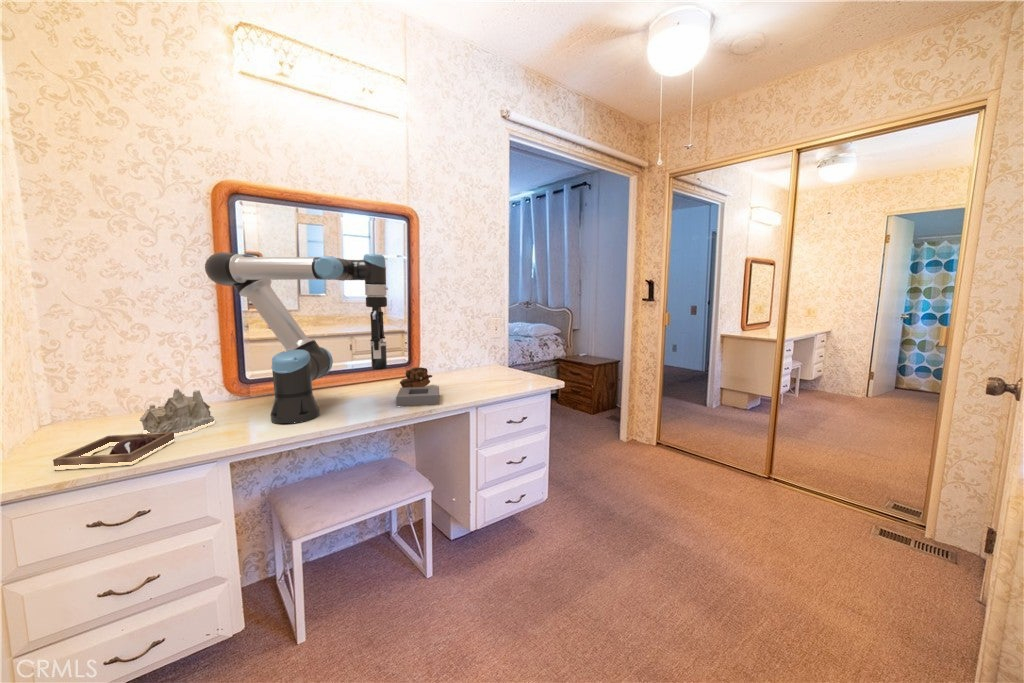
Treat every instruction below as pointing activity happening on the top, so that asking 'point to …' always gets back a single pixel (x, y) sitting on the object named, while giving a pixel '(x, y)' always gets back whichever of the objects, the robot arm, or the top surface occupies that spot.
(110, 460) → the frame
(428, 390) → the grey recessed frame block
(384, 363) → the lens
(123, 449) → the heart ornament
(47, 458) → the top surface
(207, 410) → the ceramic cottage
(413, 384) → the wooden carving
